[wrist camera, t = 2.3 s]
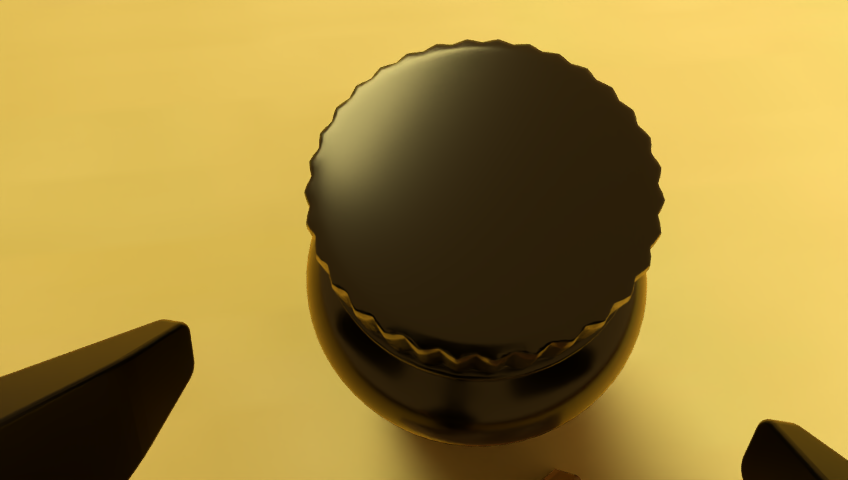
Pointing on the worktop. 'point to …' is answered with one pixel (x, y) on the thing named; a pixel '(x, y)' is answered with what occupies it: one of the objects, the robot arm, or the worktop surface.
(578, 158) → the supplement bottle
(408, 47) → the worktop surface
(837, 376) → the worktop surface
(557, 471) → the walnut tray
